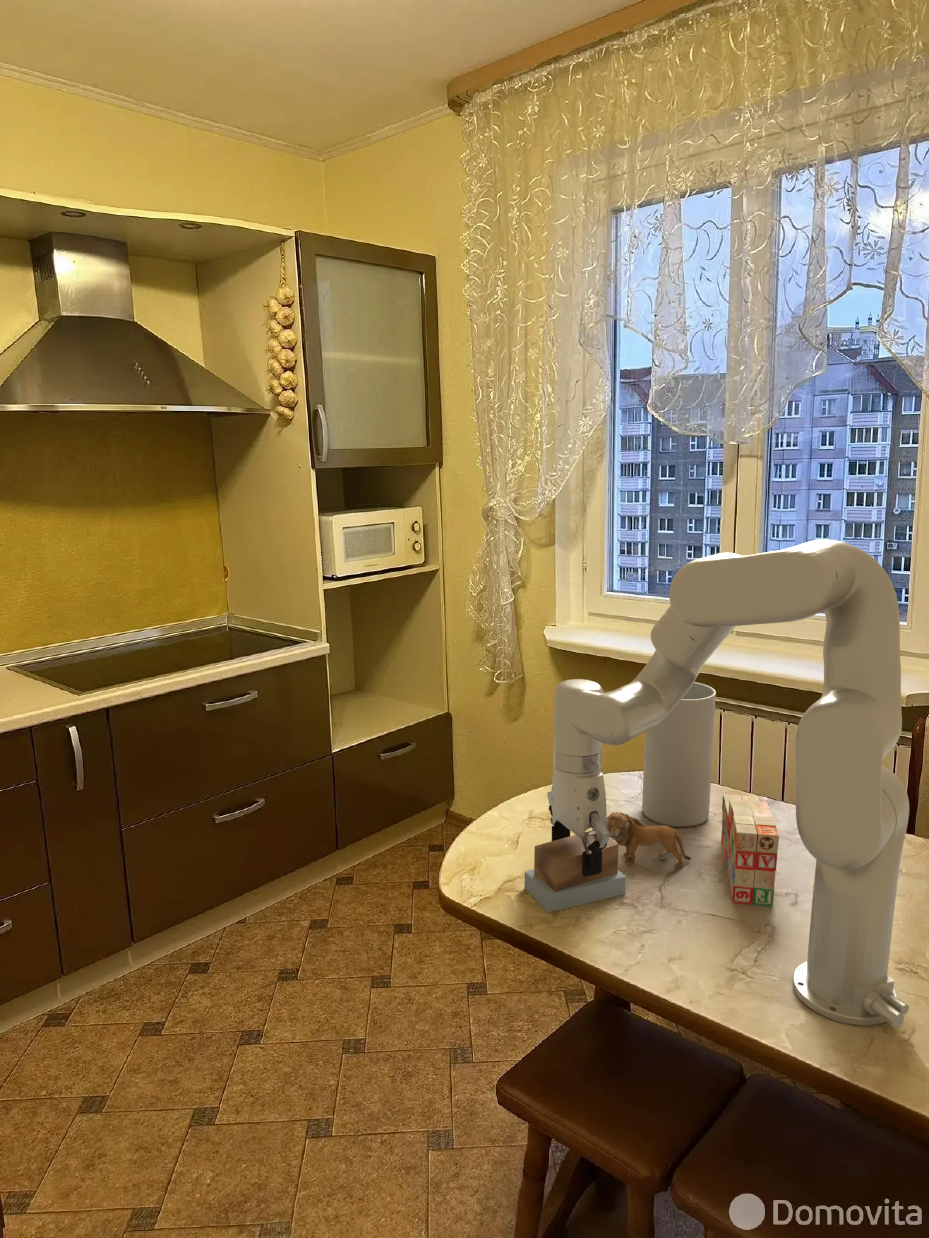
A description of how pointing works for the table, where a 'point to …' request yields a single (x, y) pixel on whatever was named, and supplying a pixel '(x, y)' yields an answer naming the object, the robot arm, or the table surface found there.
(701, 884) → the table surface
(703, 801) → the cylinder vase
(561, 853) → the walnut brick
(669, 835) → the lion figurine
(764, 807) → the stack of blocks
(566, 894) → the base slab
